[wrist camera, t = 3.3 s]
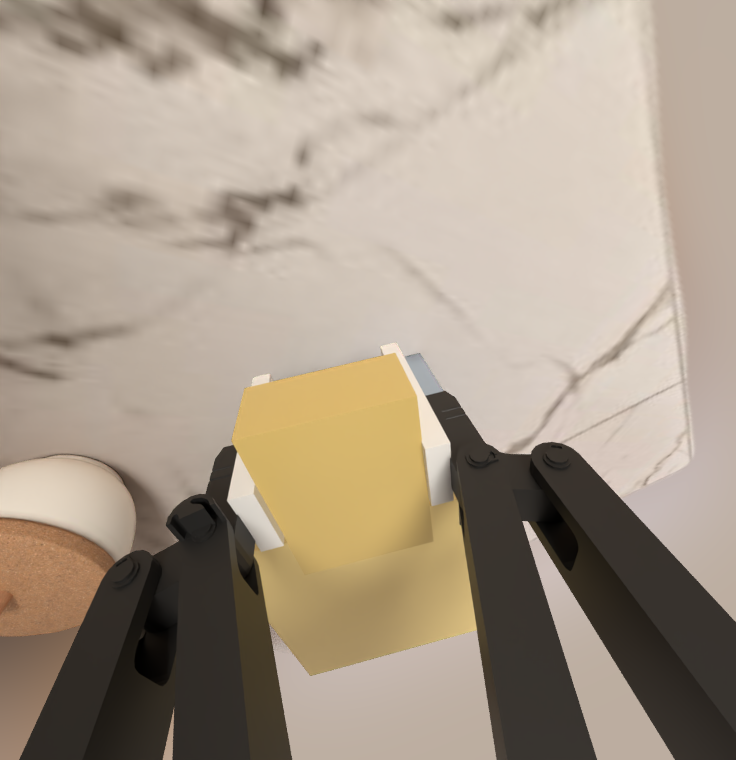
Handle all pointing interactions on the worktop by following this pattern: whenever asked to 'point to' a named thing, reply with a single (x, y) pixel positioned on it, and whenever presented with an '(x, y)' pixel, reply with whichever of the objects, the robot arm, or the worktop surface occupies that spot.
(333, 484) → the lid
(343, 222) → the worktop surface
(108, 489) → the lidded jar
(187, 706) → the robot arm
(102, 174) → the worktop surface
